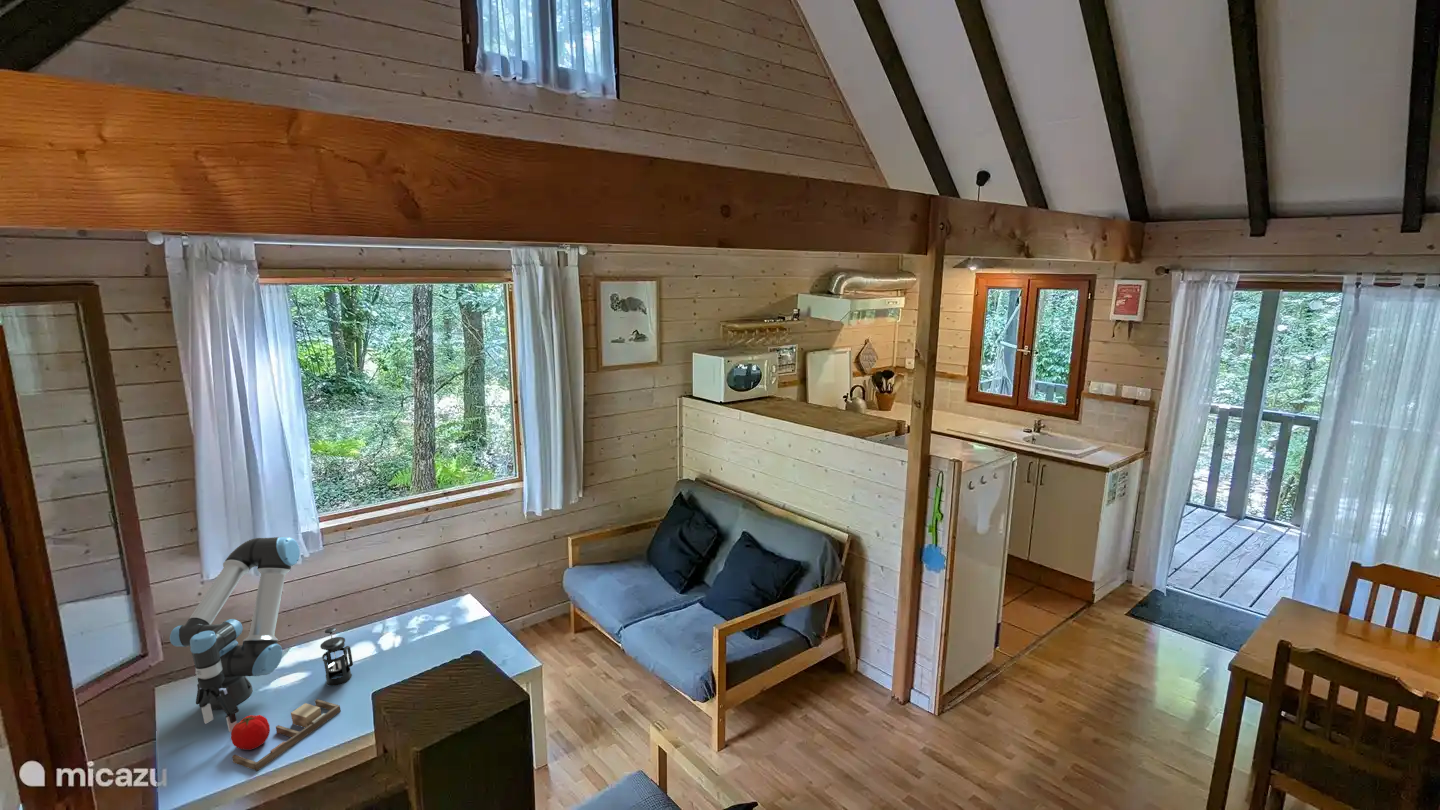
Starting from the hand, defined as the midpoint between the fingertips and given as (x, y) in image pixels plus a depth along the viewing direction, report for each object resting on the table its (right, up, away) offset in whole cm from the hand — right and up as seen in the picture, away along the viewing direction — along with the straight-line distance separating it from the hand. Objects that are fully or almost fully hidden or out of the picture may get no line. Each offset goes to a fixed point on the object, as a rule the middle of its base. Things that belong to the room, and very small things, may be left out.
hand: (221, 725), depth 250 cm
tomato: (+15, -5, -4) cm, 16 cm away
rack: (+25, -4, 0) cm, 26 cm away
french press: (+25, +4, +33) cm, 42 cm away
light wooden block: (+27, -2, +7) cm, 28 cm away
